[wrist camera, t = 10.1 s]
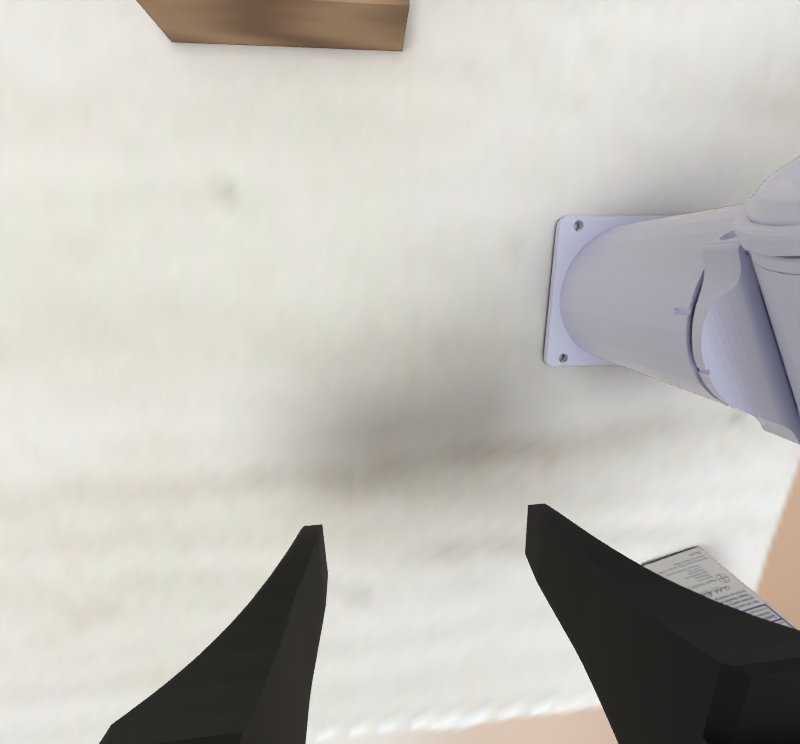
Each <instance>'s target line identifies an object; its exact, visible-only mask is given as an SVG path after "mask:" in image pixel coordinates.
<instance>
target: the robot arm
mask: <svg viewBox="0 0 800 744" xmlns="http://www.w3.org/2000/svg"><path fill="white" fill-rule="evenodd" d="M575 222H578V223H579V229H578V230H577V231H575V229H574V223H575ZM561 354H564V359H563V360H562V361H559V357H560V355H561ZM544 361H545V363H546V364H547V365H549V366H552V367H564V366H594V365H621V366H624V367H626V368H629V369H632V370H634V371H637V372H640V373H642V374H645V375H648V376H650V377H653V378H655V379H658V380H661V381H663V382H666V383H669V384H671V385H674V386H677V387H679V388H682V389H685V390H687V391H690V392H693V393H695V394H698V395H701V396H703V397H706V398H709V399H711V400H714V401H717V402H719V403H722V404H725V405H727V406H731V407H733V408H735V409H738V410H740V411H743V412H746V413H748V414H751V415H753V416H754V417H756V418H757V420H758V421H759V422H760V424H761V426H762V428H763V429H764V430H765V431H768V432H770V433H773V434H775V435H778V436H780V437H783V438H785V439H788V440H790V441H793V442H795V443H798V444H800V156H799V157H797V158H796V159H794V160H793V161H791V162H789V163H788V164H786V165H785V166H783V167H782V168H780V169H779V170H778V171H776V172H775V173H774V174H772V175H771V176H770V177H769V178H768V179H766V180H765V181H764V182H763V183H762V184H761V186H760V187H759V188H758V190H757V191H756V192H755V194H754V195H753V196H752V197H751V198H750V199H749V200H748V201H747V202H746V203H745V204H740V205H734V206H728V207H723V208H717V209H711V210H705V211H700V212H694V213H688V214H682V215H677V216H635V215H569V216H565V217H562V218H561V219H560V220H559V221H558V223H557V226H556V236H555V246H554V257H553V267H552V277H551V287H550V298H549V308H548V318H547V328H546V338H545V349H544ZM525 554H526V557H527V559H528V562H529V564H530V567H531V569H532V571H533V574H534V576H535V578H536V581H537V583H538V585H539V586H540V588H541V590H542V592H543V594H544V595H545V597H546V599H547V601H548V603H549V604H550V606H551V608H552V610H553V611H554V613H555V615H556V617H557V618H558V620H559V622H560V624H561V625H562V627H563V629H564V631H565V632H566V634H567V636H568V638H569V639H570V641H571V643H572V645H573V646H574V648H575V650H576V652H577V654H578V656H579V658H580V660H581V662H582V663H583V665H584V668H585V670H586V672H587V674H588V676H589V678H590V681H591V683H592V685H593V687H594V689H595V691H596V694H597V696H598V698H599V700H600V702H601V705H602V707H603V709H604V711H605V714H606V716H607V718H608V721H609V723H610V725H611V728H612V729H613V732H614V734H615V737H616V739H617V741H618V744H800V630H797V629H794V628H791V627H788V626H784V625H781V624H778V623H775V622H772V621H769V620H766V619H763V618H760V617H757V616H754V615H751V614H749V613H746V612H744V611H741V610H738V609H736V608H733V607H730V606H728V605H725V604H723V603H720V602H718V601H715V600H713V599H710V598H708V597H706V596H703V595H701V594H699V593H697V592H694V591H692V590H690V589H688V588H685V587H683V586H681V585H679V584H677V583H675V582H673V581H670V580H668V579H666V578H664V577H662V576H661V575H659V574H657V573H655V572H653V571H651V570H649V569H647V568H645V567H643V566H641V565H640V564H638V563H636V562H634V561H633V560H631V559H629V558H627V557H626V556H624V555H622V554H621V553H619V552H617V551H616V550H614V549H612V548H611V547H609V546H608V545H606V544H605V543H603V542H601V541H600V540H598V539H597V538H595V537H594V536H592V535H591V534H589V533H588V532H586V531H585V530H583V529H582V528H580V527H579V526H577V525H576V524H574V523H573V522H572V521H570V520H569V519H567V518H566V517H564V516H563V515H561V514H560V513H559V512H557V511H556V510H554V509H553V508H551V507H549V506H548V505H546V504H535V505H528V516H527V532H526V548H525ZM327 580H328V571H327V562H326V553H325V544H324V536H323V527H322V525H312V526H304V527H303V528H302V529H301V530H300V532H299V534H298V535H297V537H296V539H295V540H294V542H293V543H292V545H291V547H290V548H289V550H288V551H287V553H286V554H285V556H284V557H283V559H282V560H281V561H280V563H279V564H278V566H277V567H276V569H275V570H274V571H273V573H272V574H271V576H270V577H269V578H268V580H267V581H266V582H265V583H264V585H263V586H262V587H261V589H260V590H259V591H258V592H257V594H256V595H255V596H254V598H253V599H252V600H251V601H250V602H249V604H248V605H247V606H246V607H245V608H244V609H243V611H242V612H241V613H240V614H239V615H238V616H237V617H236V618H235V619H234V621H233V622H232V623H231V624H230V625H229V626H228V627H227V628H226V629H225V630H224V631H223V632H222V633H221V634H220V635H219V636H218V637H217V638H216V639H215V640H214V641H213V642H212V643H211V644H210V645H209V646H208V647H207V648H206V649H205V650H204V651H203V652H202V653H201V654H200V655H199V656H197V657H196V658H195V659H194V660H193V661H192V662H191V663H190V664H188V665H187V666H186V667H185V668H184V669H183V670H182V671H180V672H179V673H178V674H177V675H176V676H174V677H173V678H172V679H171V680H170V681H168V682H167V683H166V684H165V685H163V686H162V687H161V688H160V689H158V690H157V691H156V692H155V693H153V694H152V695H151V696H149V697H148V698H147V699H145V700H144V701H143V702H141V703H140V704H139V705H137V706H136V707H135V708H133V709H132V710H131V711H129V712H128V713H127V714H125V715H124V716H123V717H121V718H120V719H119V720H117V721H116V722H114V723H113V724H112V725H111V726H110V728H109V729H108V731H107V732H106V734H105V735H104V737H103V738H102V740H101V742H100V743H99V744H305V742H306V732H307V721H308V711H309V701H310V693H311V686H312V680H313V674H314V669H315V663H316V657H317V652H318V646H319V641H320V635H321V630H322V624H323V618H324V612H325V606H326V595H327Z"/></svg>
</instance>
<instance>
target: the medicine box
mask: <svg viewBox="0 0 800 744" xmlns="http://www.w3.org/2000/svg"><path fill="white" fill-rule="evenodd" d="M643 567H645V568H647V569H649V570H651V571H653V572H655V573H657V574H659V575H661V576H662V577H664V578H666V579H668V580H670V581H673V582H675V583H677V584H679V585H681V586H683V587H685V588H688V589H690V590H692V591H694V592H697V593H699V594H701V595H703V596H706V597H708V598H710V599H713V600H715V601H718V602H720V603H723V604H725V605H728V606H730V607H733V608H736V609H738V610H741V611H744V612H746V613H749V614H751V615H754V616H757V617H760V618H763V619H766V620H769V621H772V622H775V623H778V624H781V625H784V626H788V627H791V628H794V629H797V630H800V629H799V628H798V627H796V626H795V625H794V624H793V623H791V622H790V621H789V620H788V619H787V618H786V617H784V616H783V615H782V614H781V613H779V612H778V611H777V610H775V609H774V608H773V607H772V606H771V605H769V604H768V603H767V602H766V601H765V600H763V599H762V598H761V597H760V596H758V595H757V594H756V593H755V592H754V591H752V590H751V589H750V588H749V587H747V586H746V585H745V584H744V583H742V582H741V581H740V580H739V579H738V578H736V577H735V576H734V575H733V574H732V573H730V572H729V571H728V570H727V569H726V568H724V567H723V566H722V565H721V564H719V563H718V562H717V561H716V560H714V559H713V558H712V557H711V556H710V555H708V554H707V553H706V552H705V551H703V550H702V549H701V548H699V547H697V548H693V549H690V550H687V551H684V552H681V553H678V554H675V555H672V556H669V557H667V558H663V559H661V560H658V561H655V562H653V563H650V564H646V565H643Z"/></svg>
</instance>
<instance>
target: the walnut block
mask: <svg viewBox="0 0 800 744" xmlns="http://www.w3.org/2000/svg"><path fill="white" fill-rule="evenodd" d="M136 1H137V2H138V3H139V4H140V5H141V6H142V8H143V9H144V10H145V11H146V12H147V13H148V15H149V16H150V17H151V18H152V19H153V21H154V22H155V23H156V24H157V25H158V26H159V28H160V29H161V30H162V31H163V32H164V33H165V35H166V36H167V37H168V38H169V39H170V40H171V42H193V43H218V44H243V45H268V46H294V47H319V48H344V49H370V50H395V51H402V47H403V41H404V35H405V29H406V23H407V17H408V11H409V0H136Z"/></svg>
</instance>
